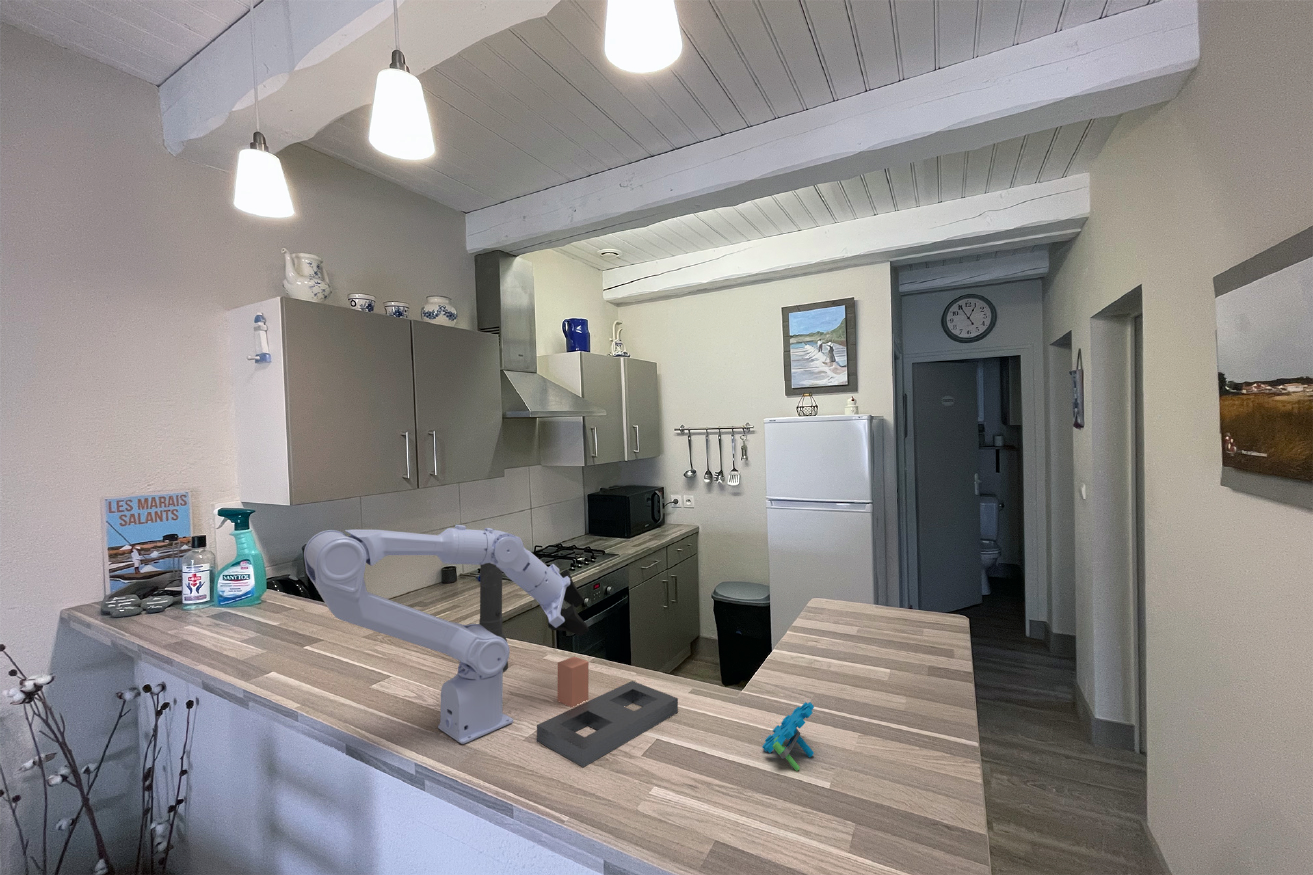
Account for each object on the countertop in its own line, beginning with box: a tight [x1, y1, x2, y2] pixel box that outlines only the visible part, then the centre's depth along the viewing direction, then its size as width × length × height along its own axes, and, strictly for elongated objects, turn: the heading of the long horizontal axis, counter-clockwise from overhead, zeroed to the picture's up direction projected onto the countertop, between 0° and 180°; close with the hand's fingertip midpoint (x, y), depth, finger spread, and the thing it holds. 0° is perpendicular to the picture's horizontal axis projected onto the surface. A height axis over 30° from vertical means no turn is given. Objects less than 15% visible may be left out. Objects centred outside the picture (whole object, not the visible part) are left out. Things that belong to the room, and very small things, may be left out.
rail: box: [536, 680, 679, 768], centre depth 92 cm, size 22×11×2 cm, turn 139°
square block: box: [556, 656, 590, 708], centre depth 101 cm, size 4×4×7 cm
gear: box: [761, 701, 815, 772], centre depth 83 cm, size 11×6×10 cm
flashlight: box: [478, 563, 509, 673], centre depth 115 cm, size 7×28×7 cm
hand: (582, 617), depth 105 cm, fingers open, 7 cm apart
